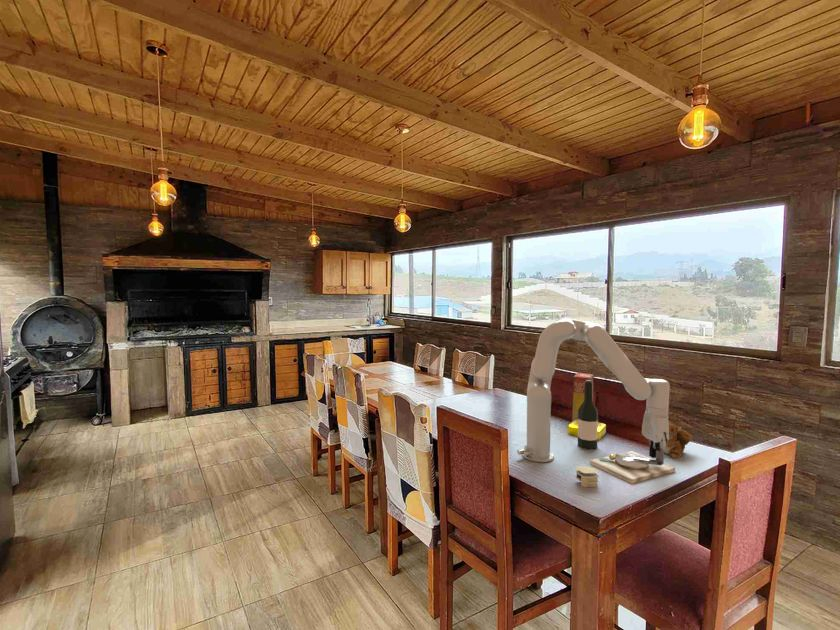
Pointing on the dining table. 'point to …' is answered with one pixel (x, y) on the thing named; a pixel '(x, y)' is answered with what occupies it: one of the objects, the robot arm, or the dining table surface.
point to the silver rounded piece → (637, 460)
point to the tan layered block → (587, 476)
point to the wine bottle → (588, 420)
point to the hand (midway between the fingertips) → (654, 456)
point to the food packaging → (579, 392)
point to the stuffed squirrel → (676, 441)
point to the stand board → (631, 474)
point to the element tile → (574, 429)
